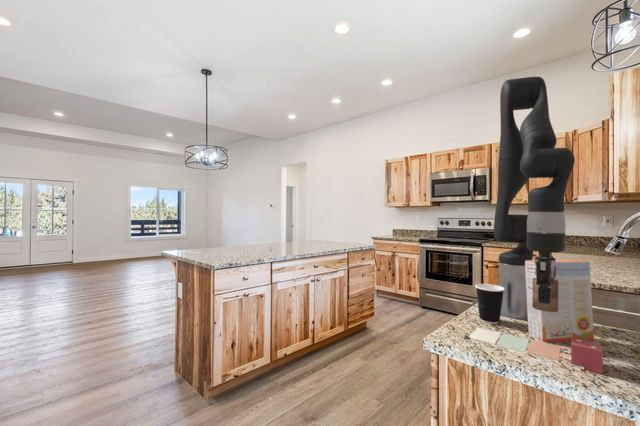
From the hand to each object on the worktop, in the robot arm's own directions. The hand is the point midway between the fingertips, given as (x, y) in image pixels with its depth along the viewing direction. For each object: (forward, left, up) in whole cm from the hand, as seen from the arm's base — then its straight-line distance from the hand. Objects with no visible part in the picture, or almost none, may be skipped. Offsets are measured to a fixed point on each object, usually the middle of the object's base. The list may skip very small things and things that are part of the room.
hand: (544, 300), depth 73 cm
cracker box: (-12, +3, -13) cm, 18 cm away
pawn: (0, 0, -2) cm, 2 cm away
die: (+2, +8, -13) cm, 15 cm away
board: (0, -6, -13) cm, 14 cm away
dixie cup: (-13, -14, -13) cm, 23 cm away
